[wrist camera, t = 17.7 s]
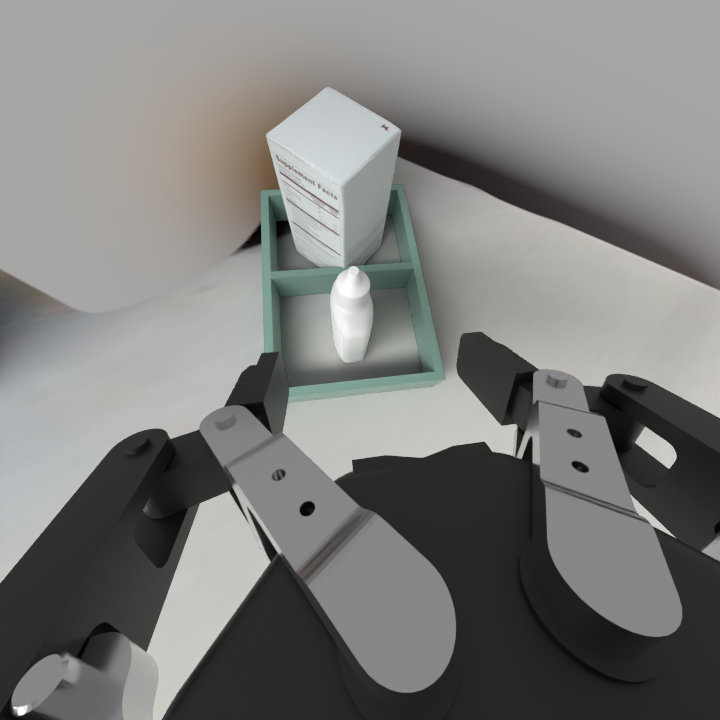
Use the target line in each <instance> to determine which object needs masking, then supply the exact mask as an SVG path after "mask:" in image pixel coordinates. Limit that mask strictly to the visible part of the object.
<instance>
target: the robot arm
mask: <svg viewBox="0 0 720 720" xmlns="http://www.w3.org/2000/svg"><path fill="white" fill-rule="evenodd" d="M457 372H458V375H459V377H460V378H461V379H462V381H463V382H464V383H465V384H466V385H467V386H468V387H469V389H470V390H471V391H472V392H473V393H474V394H475V396H476V397H477V398H478V399H479V400H480V401H481V403H482V404H483V405H484V406H485V407H486V408H487V409H488V411H489V412H490V413H491V414H492V415H493V416H494V418H495V419H496V420H497V421H498V422H499V423H500V425H501V426H502V425H509V424H516V425H517V427H516V430H515V436H514V447H513V456H511V455H507V454H502V453H496V452H492V451H491V449H490V448H489V447H488V445H487V444H486V443H485V442H479V443H472V444H465V445H457V446H452V447H450V448H447V449H445V450H442V451H440V452H437V453H435V454H432V455H430V456H427V457H424V458H414V457H400V456H378V457H371V458H364V459H357V460H352V465H353V471H352V472H350V473H347V474H345V475H343V476H342V477H340V478H338V479H337V480H335V481H333V480H332V479H331V478H329V477H328V476H327V475H326V474H325V473H324V472H323V471H322V470H321V469H320V468H319V467H318V466H317V465H316V464H315V463H314V462H313V461H312V460H311V459H310V458H309V457H307V456H306V455H305V454H304V453H303V452H302V451H301V450H300V449H299V448H298V447H297V446H296V445H295V444H294V443H293V442H292V441H291V440H290V439H289V438H288V437H287V436H285V435H284V434H283V433H282V431H283V426H284V420H285V415H286V409H287V403H288V398H289V385H288V380H287V375H286V371H285V366H284V361H283V357H282V354H281V352H280V351H278V352H268V353H262V354H261V356H260V358H259V361H258V363H257V365H252V366H249V367H248V368H247V369H246V370H244V371H243V372H242V373H241V375H240V377H239V379H238V382H237V383H236V385H235V388H234V389H233V391H232V393H231V395H230V397H229V399H228V400H227V402H226V404H225V406H224V407H223V408H220V409H218V410H215V411H214V412H212V413H210V414H209V415H208V416H206V417H205V418H204V419H203V421H202V422H201V424H200V427H199V430H197V431H194V432H191V433H188V434H185V435H182V436H179V437H176V438H173V439H170V438H169V436H168V434H167V432H166V431H165V430H162V429H149V430H144V431H141V432H138V433H136V434H133V435H131V436H129V437H127V438H126V439H124V440H122V441H121V442H119V443H118V444H117V445H116V446H114V447H113V448H112V449H111V450H110V451H109V453H108V454H107V455H106V456H105V457H104V459H103V460H102V461H101V462H100V464H99V465H98V466H97V467H96V468H95V470H94V471H93V472H92V473H91V474H90V476H89V477H88V478H87V479H86V480H85V482H84V483H83V484H82V485H81V486H80V488H79V489H78V490H77V491H76V493H75V494H74V495H73V496H72V497H71V499H70V500H69V501H68V502H67V503H66V505H65V506H64V507H63V508H62V509H61V511H60V512H59V513H58V514H57V516H56V517H55V518H54V519H53V520H52V522H51V523H50V524H49V525H48V526H47V528H46V529H45V530H44V531H43V532H42V534H41V535H40V536H39V537H38V539H37V540H36V541H35V542H34V543H33V545H32V546H31V547H30V548H29V549H28V551H27V552H26V553H25V554H24V555H23V557H22V558H21V559H20V560H19V562H18V563H17V564H16V565H15V566H14V568H13V569H12V570H11V571H10V572H9V574H8V575H7V576H6V577H5V578H4V580H3V581H2V582H1V583H0V720H153V716H152V715H153V705H154V700H155V695H156V690H157V685H158V668H157V664H156V662H155V660H154V658H153V657H152V656H150V655H149V654H148V653H147V649H148V646H149V643H150V640H151V638H152V635H153V632H154V629H155V627H156V624H157V621H158V618H159V615H160V613H161V610H162V607H163V604H164V602H165V599H166V596H167V593H168V590H169V588H170V585H171V582H172V579H173V577H174V574H175V571H176V568H177V565H178V563H179V560H180V557H181V554H182V552H183V549H184V546H185V543H186V540H187V538H188V535H189V532H190V529H191V526H192V524H193V521H194V518H195V515H196V513H197V510H198V507H199V504H200V503H201V502H204V501H206V500H209V499H211V498H213V497H216V496H218V495H221V494H223V493H225V492H228V493H229V495H230V496H231V498H232V500H233V501H234V503H235V505H236V506H237V508H238V510H239V511H240V513H241V515H242V516H243V518H244V520H245V521H246V523H247V525H248V526H249V528H250V530H251V531H252V533H253V535H254V537H255V539H256V541H257V543H258V545H259V547H260V548H261V550H262V552H263V554H264V556H265V558H266V559H267V561H268V563H269V566H268V567H267V568H266V570H265V571H264V573H263V574H262V575H261V577H260V578H259V580H258V581H257V582H256V584H255V585H254V587H253V588H252V589H251V591H250V592H249V594H248V595H247V596H246V598H245V599H244V601H243V602H242V603H241V605H240V606H239V608H238V609H237V610H236V612H235V613H234V615H233V616H232V617H231V619H230V620H229V622H228V623H227V624H226V626H225V627H224V629H223V630H222V631H221V633H220V634H219V636H218V637H217V638H216V640H215V641H214V643H213V644H212V645H211V647H210V648H209V650H208V651H207V652H206V654H205V655H204V657H203V658H202V659H201V661H200V662H199V664H198V665H197V666H196V668H195V669H194V671H193V672H192V673H191V675H190V676H189V678H188V679H187V680H186V682H185V683H184V685H183V686H182V688H181V689H180V690H179V692H178V693H177V695H176V697H175V698H174V700H173V701H172V703H171V704H170V706H169V708H168V710H167V711H166V713H165V715H164V717H163V719H162V720H720V418H718V417H716V416H714V415H713V414H711V413H709V412H707V411H705V410H703V409H701V408H699V407H698V406H696V405H694V404H692V403H690V402H688V401H686V400H684V399H683V398H681V397H679V396H677V395H675V394H673V393H671V392H669V391H668V390H666V389H664V388H662V387H660V386H658V385H656V384H654V383H652V382H650V381H648V380H645V379H642V378H639V377H635V376H631V375H625V374H612V375H609V376H607V377H606V380H605V382H604V384H603V386H602V387H596V386H583V385H582V383H581V382H580V381H579V380H578V379H577V378H575V377H574V376H572V375H569V374H567V373H564V372H561V371H556V370H549V369H544V370H539V369H537V368H536V367H534V366H533V365H532V364H530V363H529V362H527V361H526V360H524V359H523V358H522V357H519V355H517V354H516V353H514V352H513V351H512V350H510V349H509V348H507V347H506V346H504V345H502V344H499V343H497V342H495V341H493V340H492V339H491V338H489V337H488V336H486V335H485V334H484V333H482V332H473V333H464V334H463V335H462V336H461V339H460V345H459V352H458V358H457ZM645 426H646V427H647V428H649V429H650V430H651V431H653V432H654V433H656V434H657V435H659V436H660V437H662V438H663V439H665V440H666V441H667V442H669V443H670V444H671V445H672V446H673V447H674V449H675V451H676V454H677V459H676V461H675V463H674V464H673V465H672V466H671V468H670V469H668V468H667V467H665V466H664V465H663V464H662V463H660V462H659V461H658V460H656V459H655V458H654V457H652V456H651V455H650V454H649V453H647V452H646V451H645V450H643V449H642V448H641V447H639V446H638V445H637V444H636V443H635V442H636V440H637V438H638V437H639V435H640V434H641V432H642V431H643V429H644V427H645ZM630 494H631V495H632V496H633V497H634V498H635V499H636V500H637V501H638V502H639V503H640V504H641V505H642V506H643V507H644V508H646V509H647V510H648V511H649V512H650V513H651V514H652V515H653V516H654V517H655V518H656V519H657V520H658V521H659V522H660V523H661V524H662V525H663V526H664V527H665V528H666V529H667V530H669V531H670V532H671V533H672V534H673V535H674V536H675V537H676V538H677V539H676V538H674V537H672V536H670V535H668V534H666V533H665V532H663V531H661V530H659V529H657V528H655V527H653V526H652V525H651V524H650V523H649V521H648V520H646V519H645V518H643V517H641V516H640V515H639V514H638V513H637V512H636V510H635V508H634V505H633V502H632V499H631V496H630Z"/></svg>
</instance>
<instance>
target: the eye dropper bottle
mask: <svg viewBox="0 0 720 720" xmlns="http://www.w3.org/2000/svg"><path fill="white" fill-rule="evenodd" d="M369 291H370V280H369V278H368V276H367V275H366V274H365V273H364V272H362V271H361V270H359V269H358V268H357V267H356V266H352V267H350V268H349V269H346V270H345V271H343V272H341V273H340V274H339V275H338V276H337V279H336V280H335V282H334V284H333V287H332V290H331V296H330V308H331V318H332V327H333V336H334V343H335V346H336V349H337V352H338V354H339V356H340V357H341V359H342V360H343V361H344V362H345V363H351V362H358V361H362V360H363V359H364V357H365V354H366V350H367V346H368V342H369V338H370V334H371V329H372V324H373V304H372V299H371V296H370V293H369Z"/></svg>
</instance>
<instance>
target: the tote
mask: <svg viewBox="0 0 720 720" xmlns="http://www.w3.org/2000/svg"><path fill="white" fill-rule="evenodd" d="M260 193H261V237H262V280H263V324H264V353H268V352H278V351H280V352H281V354H282V349H281V325H280V301H279V297H285V296H298V295H311V294H324V293H331V290H332V287H333V284H334V282H335V280H336V279H337V276H338V275H339V274H340V273H341V272H343V271H345V270H346V269H349V268H350V267H352V266H346V267H345V268H342V267H330V268H316V269H301V270H287V271H278V254H277V231H276V221H288V217H287V213H286V209H285V205H284V201H283V198H282V194H281V190H261V191H260ZM386 215H392V217H393V222H394V228H395V233H396V238H397V243H398V248H399V253H400V258H401V263H387V264H373V265H358V266H356V267H357V268H358V269H359V270H361V271H362V272H364V273H365V274H366V275H367V276H368V278H369V280H370V290H374V289H387V288H400V287H406V289H407V295H408V300H409V305H410V310H411V315H412V320H413V325H414V331H415V336H416V341H417V346H418V351H419V356H420V362H421V367H422V372H423V373H417V374H408V375H399V376H390V377H380V378H371V379H362V380H353V381H344V382H335V383H325V384H316V385H307V386H298V387H289V398H288V403H291V402H300V401H309V400H317V399H326V398H335V397H344V396H353V395H361V394H370V393H379V392H388V391H396V390H405V389H414V388H423V387H431V386H434V385H436V384H438V383H440V382H441V381H443V380H445V375H444V371H443V366H442V361H441V357H440V352H439V348H438V343H437V338H436V334H435V329H434V325H433V320H432V315H431V311H430V306H429V301H428V297H427V292H426V288H425V283H424V278H423V274H422V269H421V265H420V260H419V255H418V251H417V246H416V242H415V237H414V232H413V228H412V223H411V218H410V214H409V209H408V205H407V200H406V195H405V191H404V186H403V184H397V185H392V186H391V192H390V197H389V203H388V208H387V214H386Z"/></svg>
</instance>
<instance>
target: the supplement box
mask: <svg viewBox="0 0 720 720" xmlns="http://www.w3.org/2000/svg"><path fill="white" fill-rule="evenodd" d="M400 136H401V130H400V129H399V128H398V127H396V126H395V125H393V124H392V123H390V122H389V121H387V120H385V119H384V118H382V117H380V116H378V115H377V114H375V113H373V112H372V111H370V110H368V109H366V108H365V107H363V106H361V105H359V104H358V103H356V102H354V101H353V100H351V99H349V98H348V97H346V96H344V95H342V94H341V93H339V92H337V91H336V90H334V89H332V88H330V87H327V88H325V89H324V90H322V91H321V92H320V93H319V94H318V95H316V96H315V97H314V98H312V99H311V100H310V101H309V102H307V103H306V104H305V105H303V106H302V107H301V108H300V109H298V110H297V111H296V112H294V113H293V114H292V115H291V116H289V117H288V118H287V119H285V120H284V121H283V122H281V123H280V124H279V125H278V126H276V127H275V128H274V129H272V130H271V131H270V132H268V133H267V134H266V138H267V141H268V145H269V149H270V153H271V156H272V160H273V164H274V168H275V172H276V175H277V179H278V183H279V187H280V190H281V194H282V198H283V201H284V205H285V209H286V213H287V217H288V220H289V225H290V228H291V232H292V236H293V240H294V243H295V247H296V250H297V252H299V253H300V254H301V255H303V256H304V257H305V258H307V259H308V260H310V261H311V262H312V263H314V264H315V265H317V266H318V267H319V268H330V267H342V268H345V267H346V266H358V265H364V264H365V263H366V262H367V260H368V259H369V258H370V257H371V256H372V255H373V254H374V253H375V252H376V250H377V249H378V248H379V247H380V246H381V242H382V236H383V231H384V225H385V220H386V214H387V208H388V203H389V197H390V192H391V186H392V181H393V175H394V170H395V164H396V159H397V153H398V148H399V142H400Z"/></svg>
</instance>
